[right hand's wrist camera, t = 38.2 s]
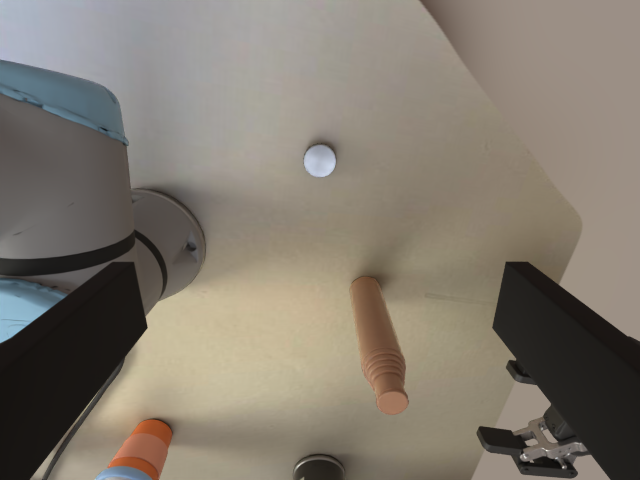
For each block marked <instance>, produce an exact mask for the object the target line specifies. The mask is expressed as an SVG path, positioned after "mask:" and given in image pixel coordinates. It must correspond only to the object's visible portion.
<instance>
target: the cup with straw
mask: <svg viewBox="0 0 640 480" xmlns="http://www.w3.org/2000/svg"><path fill="white" fill-rule="evenodd" d="M171 438H172V432H171V429H170V428H169V427H168V426H167V425H166V424H165V423H163V422H161V421H158V420H145V421H143V422H141V423H140V424H139V425H138V426H137V427H136V429H135V430H134V431H133V433H132V434H131V436H130V437H129V438H127V439H126V441H125V442H124V444H123V445H122V446H121V448H120V449H119V451H118V452H117V454H116V455H115V456H114V458H113V459H112V461H111V462H110V463H109V465H108V468H107V469H105V470H103V471H102V472H101V473H100V474H99V475H98V476H97V477H96V479H95V480H159V478H160V475H161V472H162V469H163V466H164V463H165V460H166V457H167V454H168V448H169V445H170V442H171Z"/></svg>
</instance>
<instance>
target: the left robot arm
mask: <svg viewBox="0 0 640 480" xmlns="http://www.w3.org/2000/svg"><path fill="white" fill-rule="evenodd" d="M506 369H507V370H508V371H509V373H510V374H511V376H512V377H513V378H514V379H515V380H516V381H518V382H520V383H526V384H533V385H536V383H535V382H534V381H533V379H532V378H531V377H530V376H529V374H528V373H527V372H526V370H525V369H524V368H523V367H522V365H521V364H520V363H519V361H518V360H517V359H516V361H513V360H509V361H508V364H507V366H506ZM546 429H548V430H549V431H550V433H551V434H552V435H553V437H554V438H555V439H556V440H557V441H558V442H557V443H550V442H549V441H548V440H547V439H546V437H545V436H544V434H543V433H542V431H543V430H546ZM477 436H478V438H479V440H480V442H481V444H482V446H483V447H484V448H485V449H486V450H487V451H488V452H490V453H498V454H505V455H511V456H512V458H513V460H514V462H515V463H516V465H517V467H518V469H519V471H520V473H521V474H524V475H534V476H547V477H558V478H574V477H576V476H577V474H578V472H577V471H576V469H575V468H574V466H573V463H574V461H575V459H576V457H577V456H585V455H591V454H590V453H589V451H588V450H587V449H586V447H585V446H584V445H583V444H582V442H581V441H580V440H579V438H578V437H577V436H576V435H575V433H574V432H573V431H572V429H571V428H570V427H569V426H568V424H567V423H566V422H565V421H564V419H563V418H562V417H561V415H560V414H559V413H558V412H557V410H556V409H555V408H554V406H553V405H552V404H551V406H550V407H549V408H548V409H547V410H546V412H545V414H544V415H543V417H541V418H538V419H535V420H532V421H530V422H529V423H528V427H526V428H523V429H520V430H517V431H515V432H512V431H511V430H504V429H497V428H490V427H483V426H480V427H479V428H478V431H477ZM530 439H536V440H537V441H538V443H539V444H536V445H533V446H527V445H526V443H525V441H527V440H530ZM530 460H533V461H534V463H530ZM293 480H345V472H344V468H343V466H342V464H341V463H340V462H339V461H337V460H336V459H334V458H332V457H329V456H325V455H313V456H309V457H306V458H304V459H302V460H301V461H299V462H298V463H297V464H296V466H295V468H294V471H293Z"/></svg>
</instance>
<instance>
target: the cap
mask: <svg viewBox="0 0 640 480" xmlns="http://www.w3.org/2000/svg"><path fill="white" fill-rule="evenodd" d="M335 165H336V157H335V153H334V152H333V149H331V148H330V146H327V145H326V144H322V143H321V144H318V143H317V144H315V145H314V144H313V146H311V147H309V149H308V150H307V151H306V153H305V156H304V166H305V168H306V170H307V171H308V173H310V174H311V175H312V176H315V177H325V176H327V175H329V174H330V173H331V172H332V171H333V170H334V168H335Z"/></svg>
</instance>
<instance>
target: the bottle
mask: <svg viewBox="0 0 640 480" xmlns="http://www.w3.org/2000/svg"><path fill="white" fill-rule="evenodd" d="M350 297H351V304H352V310H353V316H354V322H355V329H356V335H357V341H358V347H359V354H360V360H361V366H362V370H363V373H364V376H365V378H366V379H367V381H368V382H369V384H370V386H371V387H372V389H373V390H374V391H375V394H376V404H377V407H378V408H379V410H381V411H382V412H383V413H385V414H389V415H395V414H398V413H401V412H402V411H404V410H405V409H406V408H407V406H408V404H409V400H408V396H407V394H406V392H405V389H404V382H405V381H404V380H405V370H406V366H405V359H404V356H403V353H402V350H401V347H400V344H399V341H398V338H397V335H396V332H395V329H394V326H393V323H392V320H391V317H390V314H389V311H388V308H387V305H386V302H385V299H384V296H383V293H382V290H381V287H380V285H379V283H378V282H377V281H376V280H375V279H374V278H371V277H360V278H358V279H356V280H355V281H354V282H353V283H352V284H351V286H350Z"/></svg>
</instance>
